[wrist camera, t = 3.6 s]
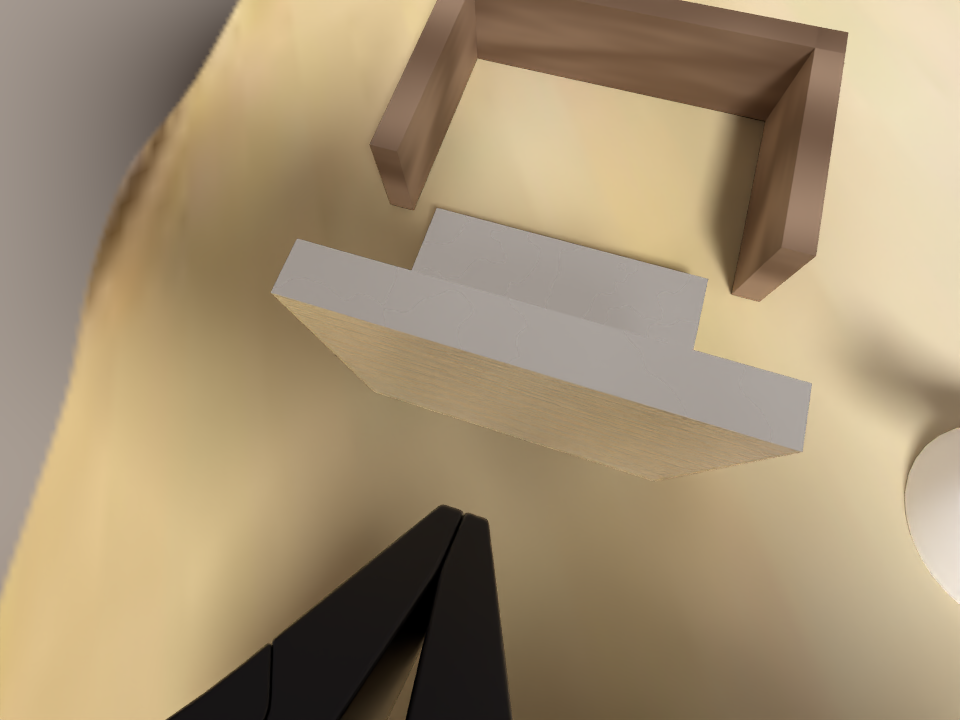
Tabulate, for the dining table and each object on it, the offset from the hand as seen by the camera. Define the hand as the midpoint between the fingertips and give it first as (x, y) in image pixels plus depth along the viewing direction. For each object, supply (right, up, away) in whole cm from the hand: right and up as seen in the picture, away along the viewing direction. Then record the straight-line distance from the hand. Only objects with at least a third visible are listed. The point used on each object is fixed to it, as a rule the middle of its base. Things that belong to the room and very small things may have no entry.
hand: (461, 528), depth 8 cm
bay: (+6, +13, +16) cm, 21 cm away
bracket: (+3, +4, +13) cm, 14 cm away
